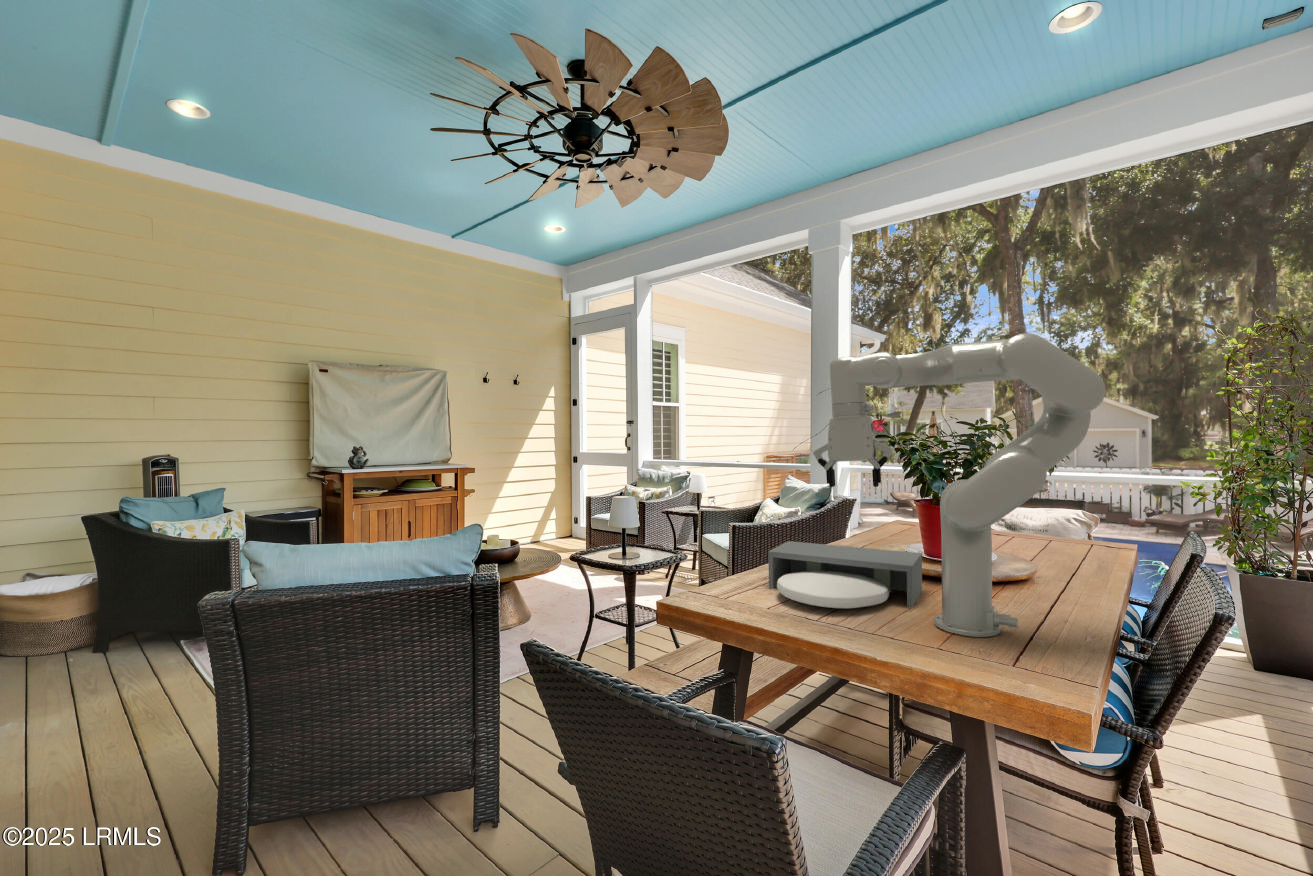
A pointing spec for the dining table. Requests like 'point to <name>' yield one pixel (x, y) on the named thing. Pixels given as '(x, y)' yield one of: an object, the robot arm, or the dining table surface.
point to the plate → (832, 589)
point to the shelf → (850, 564)
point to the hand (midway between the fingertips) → (853, 486)
